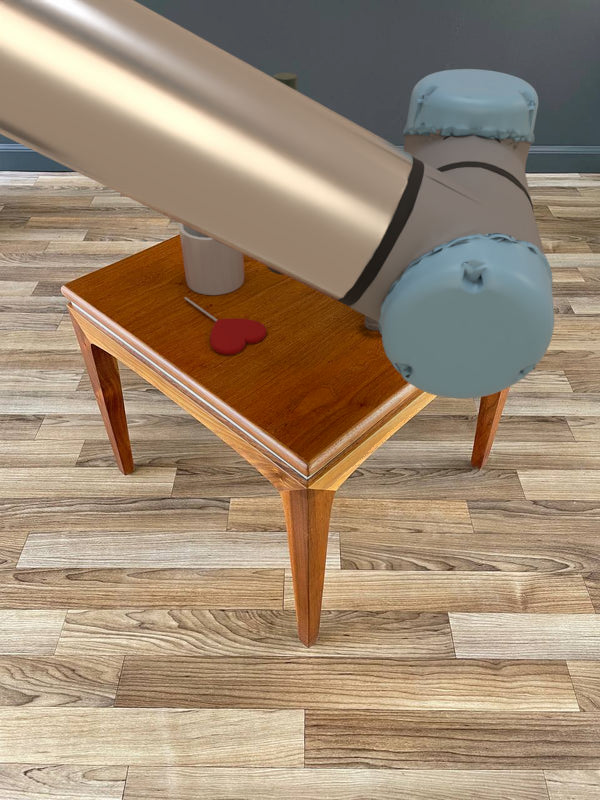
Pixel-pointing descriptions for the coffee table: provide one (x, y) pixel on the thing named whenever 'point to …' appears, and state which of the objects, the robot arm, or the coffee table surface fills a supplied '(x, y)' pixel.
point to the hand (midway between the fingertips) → (265, 151)
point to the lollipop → (233, 333)
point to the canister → (210, 263)
